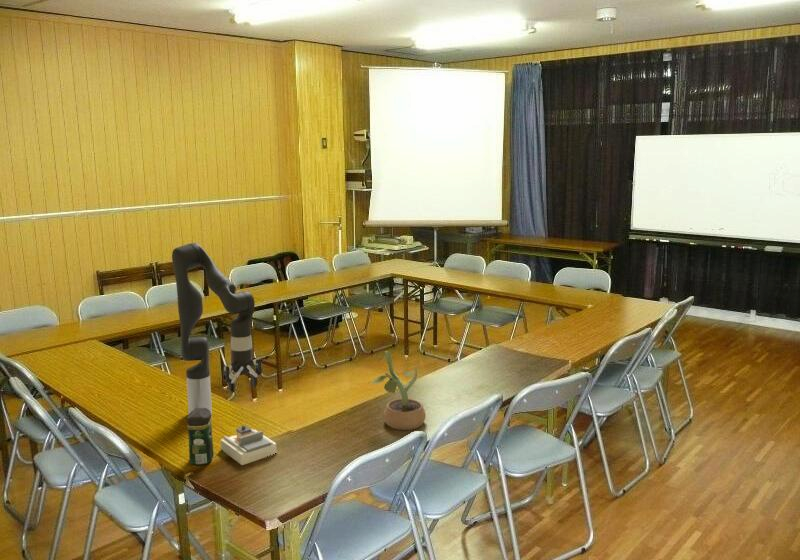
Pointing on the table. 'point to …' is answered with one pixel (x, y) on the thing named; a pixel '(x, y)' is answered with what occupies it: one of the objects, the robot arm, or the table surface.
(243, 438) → the shutter
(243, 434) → the plug
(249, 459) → the socket
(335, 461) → the table surface
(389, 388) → the potted plant
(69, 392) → the table surface
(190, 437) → the coffee jar
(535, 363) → the table surface
